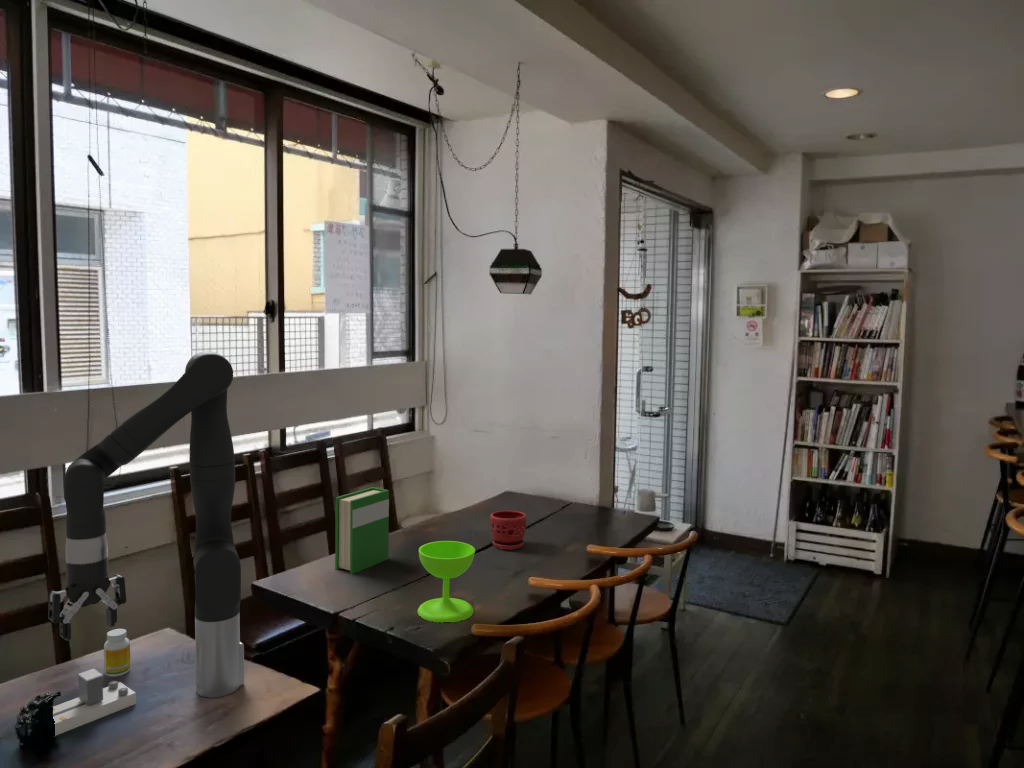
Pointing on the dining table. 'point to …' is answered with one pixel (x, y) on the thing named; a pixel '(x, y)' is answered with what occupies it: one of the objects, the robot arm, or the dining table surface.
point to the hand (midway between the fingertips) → (89, 632)
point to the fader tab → (90, 687)
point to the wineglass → (446, 579)
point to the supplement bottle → (116, 653)
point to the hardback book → (361, 529)
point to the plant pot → (508, 529)
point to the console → (92, 707)
